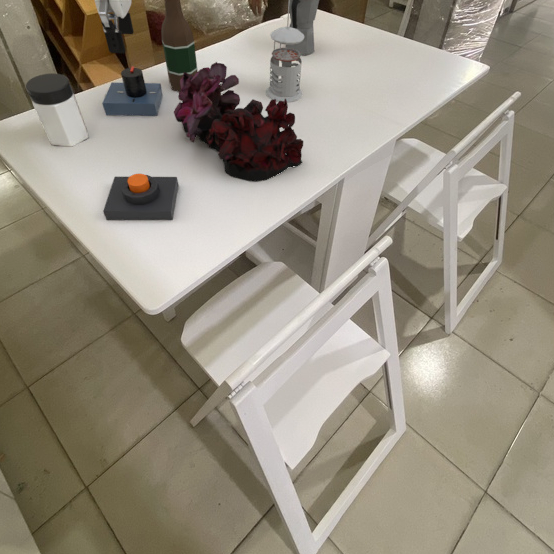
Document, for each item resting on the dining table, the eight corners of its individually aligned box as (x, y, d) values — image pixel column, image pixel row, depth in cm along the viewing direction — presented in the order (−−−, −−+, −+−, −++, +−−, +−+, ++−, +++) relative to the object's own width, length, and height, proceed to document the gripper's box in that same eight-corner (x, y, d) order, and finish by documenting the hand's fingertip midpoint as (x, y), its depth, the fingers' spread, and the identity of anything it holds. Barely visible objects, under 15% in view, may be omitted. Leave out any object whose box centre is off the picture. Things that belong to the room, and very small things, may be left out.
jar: (48, 129, 90) (23, 75, 81) (85, 122, 93) (66, 69, 83) (51, 151, 86) (25, 96, 76) (91, 143, 88) (71, 89, 78)
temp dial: (145, 97, 95) (140, 76, 91) (124, 97, 94) (118, 75, 90) (148, 87, 98) (143, 66, 94) (128, 87, 97) (122, 66, 93)
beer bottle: (163, 84, 105) (143, -27, 86) (188, 75, 109) (173, -33, 90) (180, 96, 102) (163, -17, 83) (205, 86, 105) (194, -24, 86)
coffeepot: (292, 38, 127) (297, -31, 113) (320, 44, 125) (328, -26, 111) (275, 57, 118) (277, -15, 103) (305, 64, 116) (311, -10, 102)
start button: (128, 193, 73) (125, 185, 71) (131, 181, 75) (129, 173, 73) (148, 193, 73) (146, 186, 71) (151, 181, 75) (149, 173, 74)
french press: (272, 104, 101) (275, -13, 81) (258, 83, 108) (259, -31, 88) (308, 99, 103) (320, -17, 84) (292, 78, 110) (300, -33, 90)
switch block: (106, 220, 73) (99, 203, 70) (117, 185, 79) (111, 168, 76) (172, 220, 74) (168, 203, 71) (178, 185, 80) (175, 169, 77)
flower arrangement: (314, 154, 88) (323, 87, 77) (254, 198, 79) (254, 129, 67) (214, 104, 100) (209, 39, 88) (152, 136, 90) (136, 68, 78)
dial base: (106, 115, 95) (101, 102, 93) (114, 94, 101) (111, 81, 99) (157, 115, 96) (154, 103, 93) (162, 95, 102) (160, 82, 99)
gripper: (109, -45, 67) (133, 61, 81) (128, -70, 78) (146, 27, 91) (63, -48, 67) (95, 60, 80) (88, -72, 78) (112, 26, 91)
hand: (122, 42), depth 86 cm, fingers open, 9 cm apart
